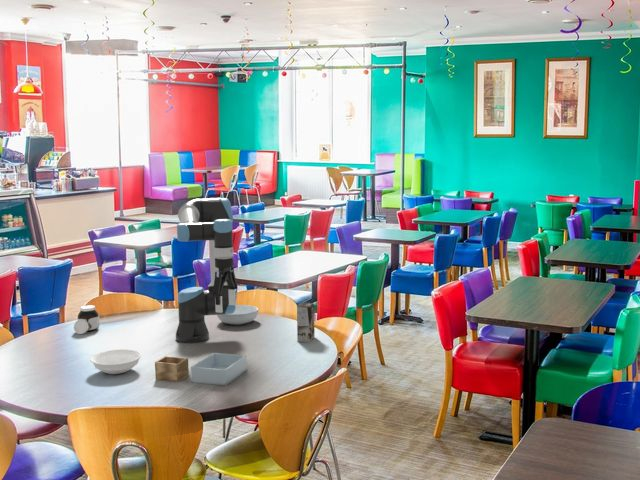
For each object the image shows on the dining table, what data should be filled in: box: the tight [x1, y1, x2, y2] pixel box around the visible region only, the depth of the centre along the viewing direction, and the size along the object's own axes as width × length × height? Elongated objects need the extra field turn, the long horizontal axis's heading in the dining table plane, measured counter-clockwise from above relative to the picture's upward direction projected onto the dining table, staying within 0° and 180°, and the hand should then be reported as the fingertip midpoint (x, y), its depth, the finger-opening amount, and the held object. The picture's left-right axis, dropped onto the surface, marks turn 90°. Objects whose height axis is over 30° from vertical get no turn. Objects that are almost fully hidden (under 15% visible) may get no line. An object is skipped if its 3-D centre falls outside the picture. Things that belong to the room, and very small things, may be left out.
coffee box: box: [296, 302, 316, 343], centre depth 346 cm, size 9×6×16 cm
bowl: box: [90, 349, 142, 375], centre depth 304 cm, size 20×20×6 cm
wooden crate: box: [154, 355, 190, 383], centre depth 296 cm, size 10×8×7 cm
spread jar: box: [73, 304, 100, 335], centre depth 365 cm, size 12×11×12 cm
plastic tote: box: [190, 352, 248, 387], centre depth 297 cm, size 14×19×6 cm
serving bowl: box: [216, 304, 259, 326], centre depth 378 cm, size 21×21×7 cm
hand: (225, 308), depth 313 cm, fingers open, 13 cm apart
